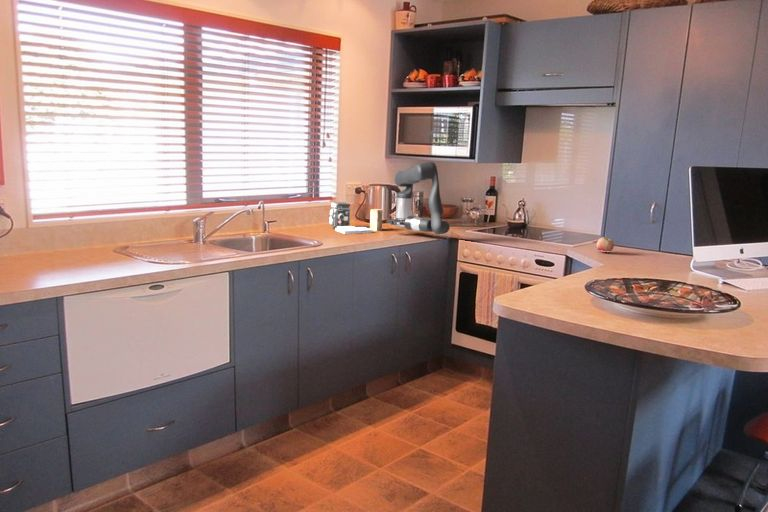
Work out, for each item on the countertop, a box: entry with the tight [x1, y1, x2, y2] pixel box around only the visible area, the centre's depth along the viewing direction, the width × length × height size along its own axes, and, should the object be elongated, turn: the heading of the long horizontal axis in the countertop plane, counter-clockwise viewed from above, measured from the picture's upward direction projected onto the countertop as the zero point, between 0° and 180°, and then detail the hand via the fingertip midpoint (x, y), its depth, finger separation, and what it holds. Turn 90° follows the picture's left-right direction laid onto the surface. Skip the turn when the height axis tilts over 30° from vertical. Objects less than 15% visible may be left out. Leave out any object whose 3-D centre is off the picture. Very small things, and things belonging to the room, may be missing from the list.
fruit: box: [596, 236, 615, 252], centre depth 314 cm, size 8×8×8 cm
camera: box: [328, 201, 351, 229], centre depth 354 cm, size 10×10×15 cm
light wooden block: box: [369, 208, 384, 232], centre depth 354 cm, size 5×5×12 cm
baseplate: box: [334, 225, 374, 235], centre depth 346 cm, size 18×12×2 cm, turn 119°
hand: (391, 220), depth 348 cm, fingers open, 8 cm apart
